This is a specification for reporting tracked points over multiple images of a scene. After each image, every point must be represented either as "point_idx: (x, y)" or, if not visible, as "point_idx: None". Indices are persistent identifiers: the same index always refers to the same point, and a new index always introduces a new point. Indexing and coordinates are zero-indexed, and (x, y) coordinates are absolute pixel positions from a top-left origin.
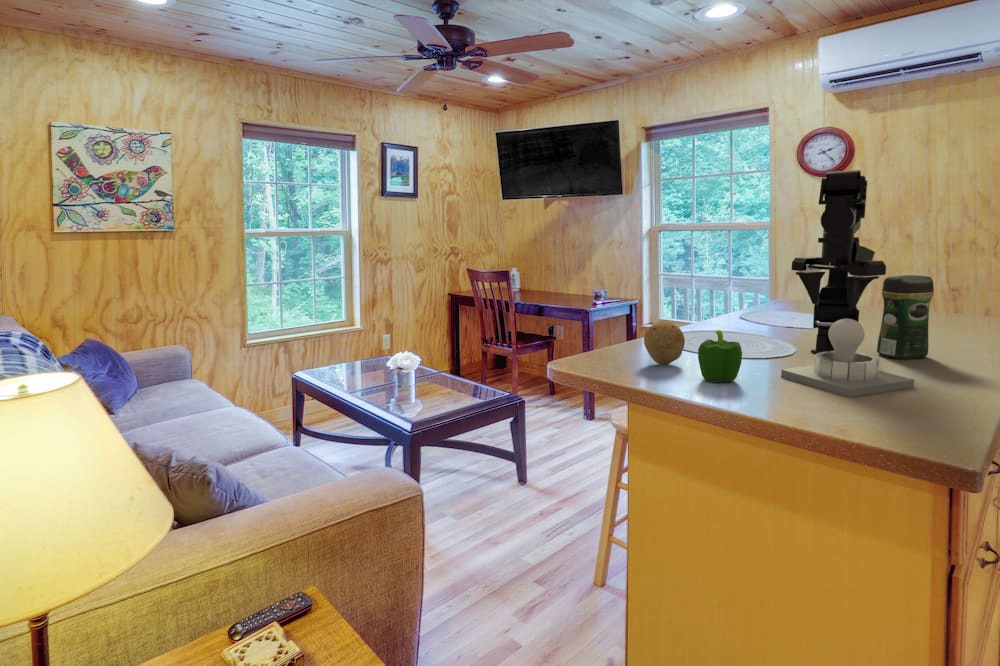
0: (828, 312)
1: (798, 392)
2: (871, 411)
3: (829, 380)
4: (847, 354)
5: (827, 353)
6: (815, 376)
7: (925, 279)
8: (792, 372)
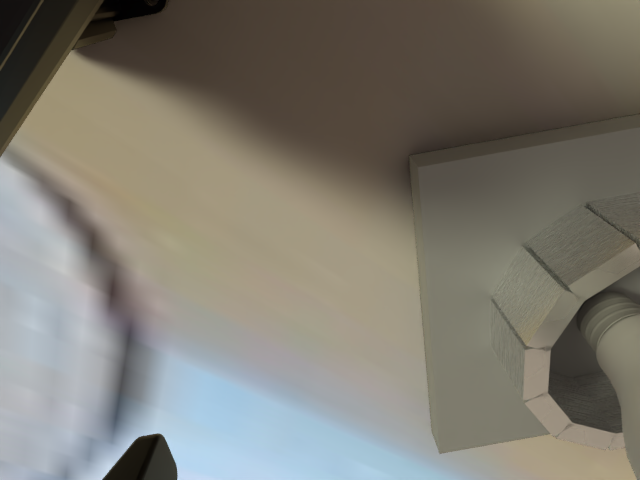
0: (20, 123)
1: (598, 466)
2: None
3: None
4: None
5: (547, 372)
6: None
7: None
8: (490, 443)
